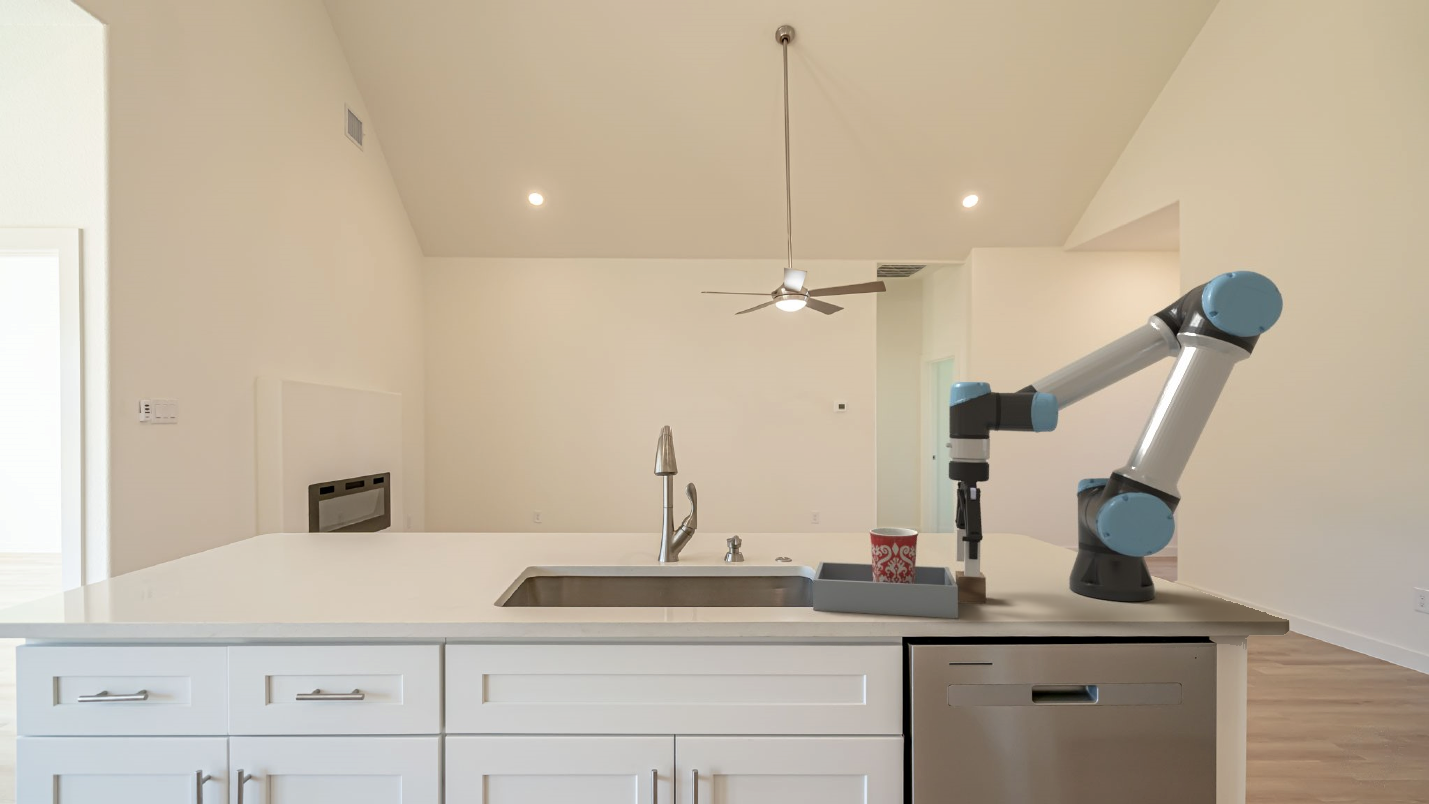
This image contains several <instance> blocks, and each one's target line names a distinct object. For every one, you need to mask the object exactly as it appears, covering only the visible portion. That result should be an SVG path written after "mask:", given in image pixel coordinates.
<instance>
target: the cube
mask: <svg viewBox="0 0 1429 804" xmlns="http://www.w3.org/2000/svg"><path fill="white" fill-rule="evenodd" d="M954 573H955V574H954V575H955V582H956V584H957V586H958V601H959V602H958V603H969V604H987V583H986V580H987V577H986V576H985V574H984V573H983V572H982V571H980V577H972V576H964V570H963V571H961V570H955V572H954Z"/></svg>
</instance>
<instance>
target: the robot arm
mask: <svg viewBox="0 0 1429 804" xmlns="http://www.w3.org/2000/svg"><path fill="white" fill-rule="evenodd" d="M1283 301H1284V300H1283V295H1282V293H1281V292H1280V290H1279V288H1278V287H1277V285H1276V283H1274V282H1273V281H1272V280H1271V279H1270V278H1269V277H1267V276H1266V275H1264V274H1261V273H1258V272H1255V271H1252V270H1251V271H1249V270H1235V271H1231V272H1225V273H1222V274H1219V275H1217V276H1215V277H1213V278H1212V279H1211V280H1209V281H1206V282H1205V283H1202V284H1200V285H1198V286H1196V287H1194V288H1192V289H1191V290H1189V291H1188V292H1187V293H1185V294H1183V295H1182V296H1181V297H1179V298H1178V299H1177V300H1175V301H1174V302H1172V303H1171V304H1169V305H1168V306H1166V307H1165V308H1163V309H1161V310H1160V311H1158V312H1155V313H1154V314H1152V315H1150V316H1149V317H1148V320H1147V323H1146V324H1144V325H1142V326H1140V327H1138V328H1136V329H1134V330H1132V331H1131V332H1128V333H1127V334H1125V335H1123V336H1121V337H1119V338H1117V339H1115V340H1113V341H1112V342H1109V343H1107V344H1105V345H1103V346H1101V347H1100V348H1098V349H1096V350H1093V351H1092V352H1090V353H1088V354H1086V355H1084V356H1083V357H1081V358H1079V359H1077V360H1075V361H1073V362H1071V363H1069V364H1067V365H1064V366H1063V367H1061V368H1060V369H1057V370H1055V371H1054V372H1052V373H1050V374H1048V375H1046V376H1044V377H1042V378H1040V379H1038V380H1036V381H1034V382H1032V383H1031V384H1029V385H1028V386H1025V387H1023V388H1021V389H1019V390H1016V391H1015V392H993V391H992V389H991V385H990V383H988V382H986V381H985V382H984V381H959V382H955V383H953V384H952V385H951V387H950V392H949V406H948V407H949V413H948V414H949V417H948V418H949V419H948V420H949V435H948V436H949V442H947V443H946V444H945V446H946V448H948V449H949V451H948V452H949V454H948V456H949V458H951V459H952V460H950V461H949V462H948V478H949V479H950V480H951V481H956V482H957V481H958V482H957V489H956V497H957V498H956V512H955V520H954V521H955V525H956V526H955V527H956V536H955V537H956V541H955V542H956V549H955V551H956V552H955V553H956V554H955V555H956V556H955V557H956V558H955V560H956V562H962V563H963V562H964V563H963V564H964V565H963V566H964V569H963V571H964V576H972V577H980V572H981V541H983V529H982V512H981V492H982V491H981V488H980V487H977V485H978V484H977V482H980V483H981V482H982V483H984V482H987V481H989V480H990V463H989V462H987V460H989V459H990V457H991V456H990V455H991V451H990V450H991V439H990V437H991V436H990V432H991V431H995V432H999V431H1002V432H1005V431H1006V432H1026V433H1027V432H1029V433H1032V432H1033V433H1037V434H1038V433H1044V432H1045V433H1051V432H1053V431H1055V429H1056V428H1057V426H1058V423H1059V411H1062V410H1063V409H1066V408H1067V407H1070V406H1072V405H1074V404H1075V403H1077V402H1080V401H1082V400H1084V399H1085V398H1088V397H1089V396H1092V395H1095V393H1098V392H1100V391H1102V390H1104V389H1105V388H1107V387H1110V386H1111V385H1114V384H1116V383H1118V382H1120V381H1122V380H1124V379H1125V378H1128V377H1129V376H1132V375H1133V374H1135V373H1137V372H1140V371H1142V370H1144V369H1146V368H1147V367H1150V366H1152V365H1154V364H1156V363H1157V362H1160V361H1162V360H1163V359H1165V358H1168V357H1171V358H1175V361H1174V363H1173V365H1172V367H1171V370H1170V372H1169V373H1168V376H1167V378H1166V380H1165V382H1164V384H1163V386H1162V388H1161V391H1160V393H1159V395H1158V396H1157V398H1156V400H1155V403H1154V405H1153V408H1152V409H1151V411H1150V413H1149V416H1148V418H1147V420H1146V422H1145V424H1144V426H1143V428H1142V431H1141V433H1140V435H1139V436H1138V438H1137V441H1136V444H1135V445H1134V447H1133V449H1132V451H1131V453H1130V456H1129V458H1128V459H1127V463H1126V464H1125V465H1124V466H1122V467H1120V468H1117V469H1114V470H1112V471H1111V475H1110V476H1109V478H1108V477H1098V478H1093V477H1092V478H1083V479H1080V481H1079V482H1078V483H1077V491H1076V496H1077V497H1076V498H1077V531H1078V532H1077V533H1078V537H1077V538H1078V539H1077V541H1078V542H1077V544H1078V548H1077V549H1078V550H1077V554H1076V557H1075V559H1074V560H1075V561H1074V563H1073V566H1072V569H1071V571H1070V575H1069V579H1068V581H1069V583H1068V584H1069V585H1068V587H1069V590H1071V591H1072V592H1074V593H1076V594H1079V595H1083V596H1086V597H1091V598H1094V599H1095V598H1096V599H1101V600H1107V601H1108V600H1109V601H1117V602H1118V601H1121V602H1143V601H1149V600H1152V599H1154V598H1156V597H1155V596H1156V595H1155V594H1156V593H1155V584H1154V580H1153V578H1152V575H1151V573H1150V569H1149V568H1148V565H1147V561H1146V560H1145V557H1146V556H1147V557H1148V556H1151V555H1154V554H1157V553H1159V552H1160V551H1162V550H1164V548H1166V546H1168V545H1169V543H1170V542H1171V541H1172V539H1173V536H1174V533H1175V529H1176V528H1175V526H1176V523H1175V516H1174V514H1175V512H1176V510H1177V508H1178V505H1179V503H1180V501H1181V500H1182V496H1181V494H1180V492H1179V489H1178V488H1177V487H1178V486H1177V485H1178V482H1179V481H1180V479H1181V477H1182V474H1183V473H1184V471H1185V468H1186V466H1187V464H1188V462H1189V460H1190V458H1191V456H1192V453H1193V452H1194V450H1195V448H1196V445H1197V443H1198V441H1199V440H1200V438H1201V435H1202V433H1203V431H1204V429H1205V428H1206V425H1207V423H1208V421H1209V419H1210V417H1211V414H1212V412H1213V411H1214V408H1215V407H1216V404H1217V402H1218V400H1219V397H1220V396H1221V394H1222V393H1223V392H1222V391H1223V390H1224V387H1225V386H1226V384H1227V382H1228V380H1229V377H1230V375H1231V374H1232V371H1233V369H1234V367H1235V365H1236V364H1237V363H1239V362H1241V361H1245V360H1246V359H1250V357H1251V355H1252V353H1253V351H1254V348H1255V347H1256V345H1257V343H1258V341H1259V339H1260V337H1261V336H1262V335H1261V334H1264V333H1266V332H1267V331H1269V330H1270V329H1271V328H1272V327H1273V326H1274V325H1275V324H1276V323H1277V321H1278V320H1279V319H1280V317H1281V314H1282V312H1283V307H1284V306H1283V305H1284V302H1283Z"/></svg>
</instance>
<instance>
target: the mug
mask: <svg viewBox="0 0 1429 804" xmlns="http://www.w3.org/2000/svg"><path fill="white" fill-rule="evenodd" d="M869 534H870V548H871V549H870V550H871V564H872V568H873V582H888V583H909V584H914V582H915V566H916V561H917V544H918V543H917V542H918V536H919V532H918V531H917V530H913V529H910V528H909V529H908V528H904V527H903V528H902V527H876V528H872V529H870V530H869Z"/></svg>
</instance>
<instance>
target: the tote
mask: <svg viewBox="0 0 1429 804" xmlns="http://www.w3.org/2000/svg"><path fill="white" fill-rule="evenodd" d="M812 598H813V600H812V601H813V602H812V608H813V609H812V610H813V611H822V612H837V613H838V612H839V613H857V614H874V615H890V616H891V615H892V616H908V617H909V616H910V617H923V618H925V617H926V618H944V619H959V602H958V586H957V584H956V579H955V578H954V576H953V574H952V572H951V570H950V568H949V566H948V567H947V566H929V565H927V566H926V565H925V566H924V565H915V582H914V584H909V583H888V582H873V568H872V563H860V562H859V563H856V562H855V563H854V562H833V561H829V562H828V561H819V563H818V565H817V568H816V572H815V574H814V576H813V579H812Z"/></svg>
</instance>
